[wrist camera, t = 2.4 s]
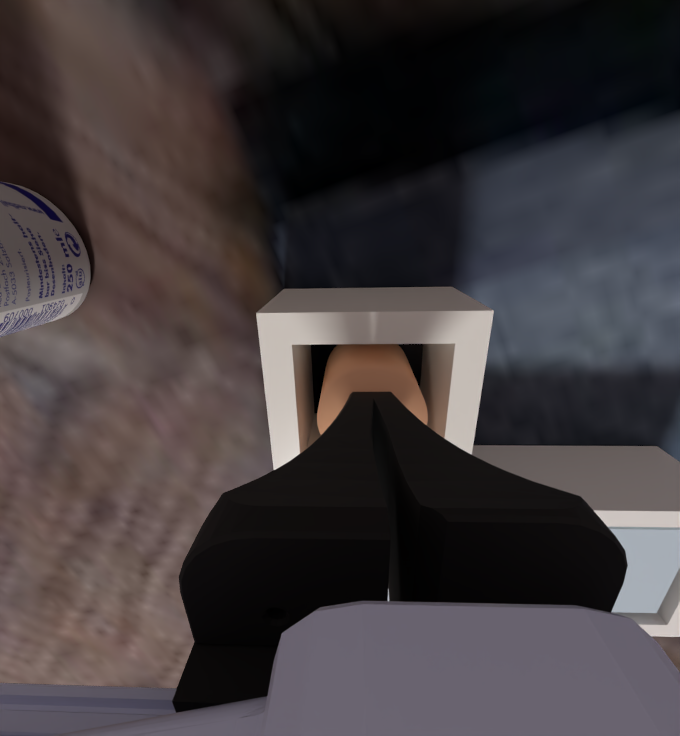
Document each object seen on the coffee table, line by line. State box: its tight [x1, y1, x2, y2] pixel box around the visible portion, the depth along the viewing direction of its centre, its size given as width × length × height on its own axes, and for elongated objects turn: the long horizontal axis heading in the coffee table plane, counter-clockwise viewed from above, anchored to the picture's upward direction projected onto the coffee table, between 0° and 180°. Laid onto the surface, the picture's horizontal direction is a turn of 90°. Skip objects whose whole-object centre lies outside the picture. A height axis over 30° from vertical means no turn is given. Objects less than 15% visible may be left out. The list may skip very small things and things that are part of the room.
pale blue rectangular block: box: [388, 527, 680, 613], centre depth 15 cm, size 13×5×7 cm, turn 91°
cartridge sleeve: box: [472, 445, 680, 637], centre depth 16 cm, size 14×7×4 cm, turn 91°
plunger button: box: [317, 344, 428, 435], centre depth 13 cm, size 4×4×4 cm
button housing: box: [256, 287, 494, 470], centre depth 13 cm, size 7×7×4 cm
